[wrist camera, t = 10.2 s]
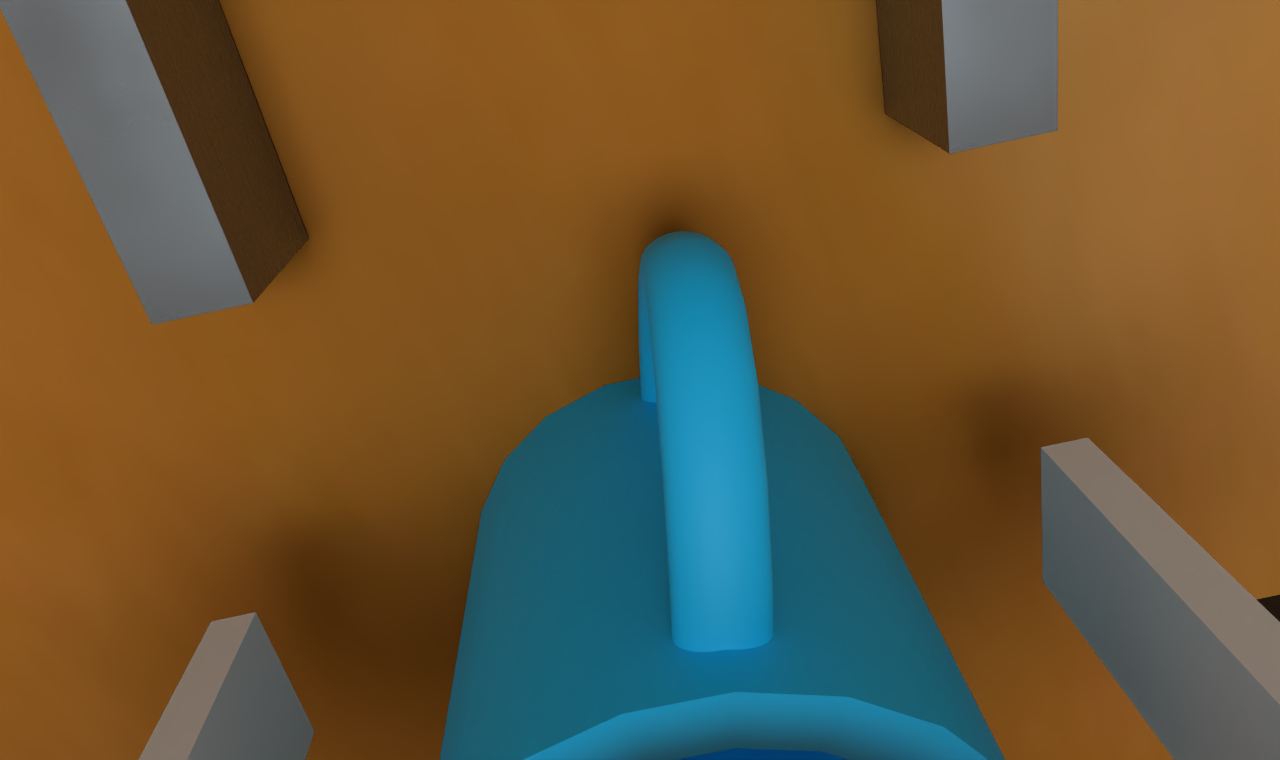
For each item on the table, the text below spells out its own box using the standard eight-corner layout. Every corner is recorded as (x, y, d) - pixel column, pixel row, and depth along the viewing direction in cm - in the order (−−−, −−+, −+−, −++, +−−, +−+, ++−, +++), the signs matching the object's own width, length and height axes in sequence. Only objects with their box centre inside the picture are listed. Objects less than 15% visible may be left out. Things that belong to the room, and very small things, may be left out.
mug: (858, 679, 21) (1004, 1076, 14) (501, 706, 21) (458, 1126, 14) (901, 154, 16) (1173, 350, 9) (423, 181, 16) (284, 408, 8)
